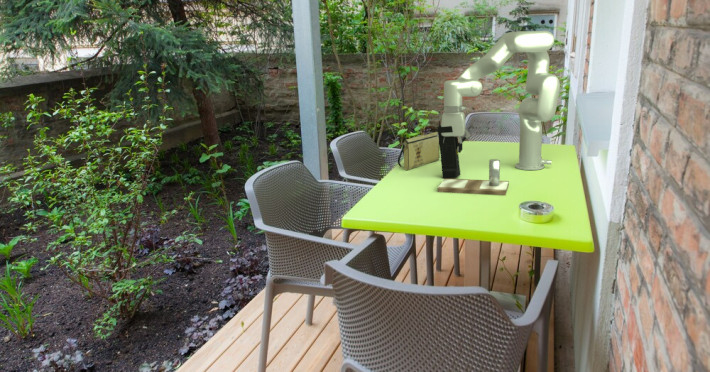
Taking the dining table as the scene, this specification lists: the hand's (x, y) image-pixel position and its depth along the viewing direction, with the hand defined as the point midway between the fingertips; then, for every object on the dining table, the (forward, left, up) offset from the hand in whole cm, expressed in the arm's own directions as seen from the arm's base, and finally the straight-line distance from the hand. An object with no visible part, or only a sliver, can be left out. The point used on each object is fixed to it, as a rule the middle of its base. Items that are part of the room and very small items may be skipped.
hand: (453, 151), depth 215 cm
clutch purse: (+21, -22, -12) cm, 32 cm away
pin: (-19, +16, -10) cm, 27 cm away
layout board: (-11, +16, -12) cm, 23 cm away
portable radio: (0, 0, -11) cm, 11 cm away
